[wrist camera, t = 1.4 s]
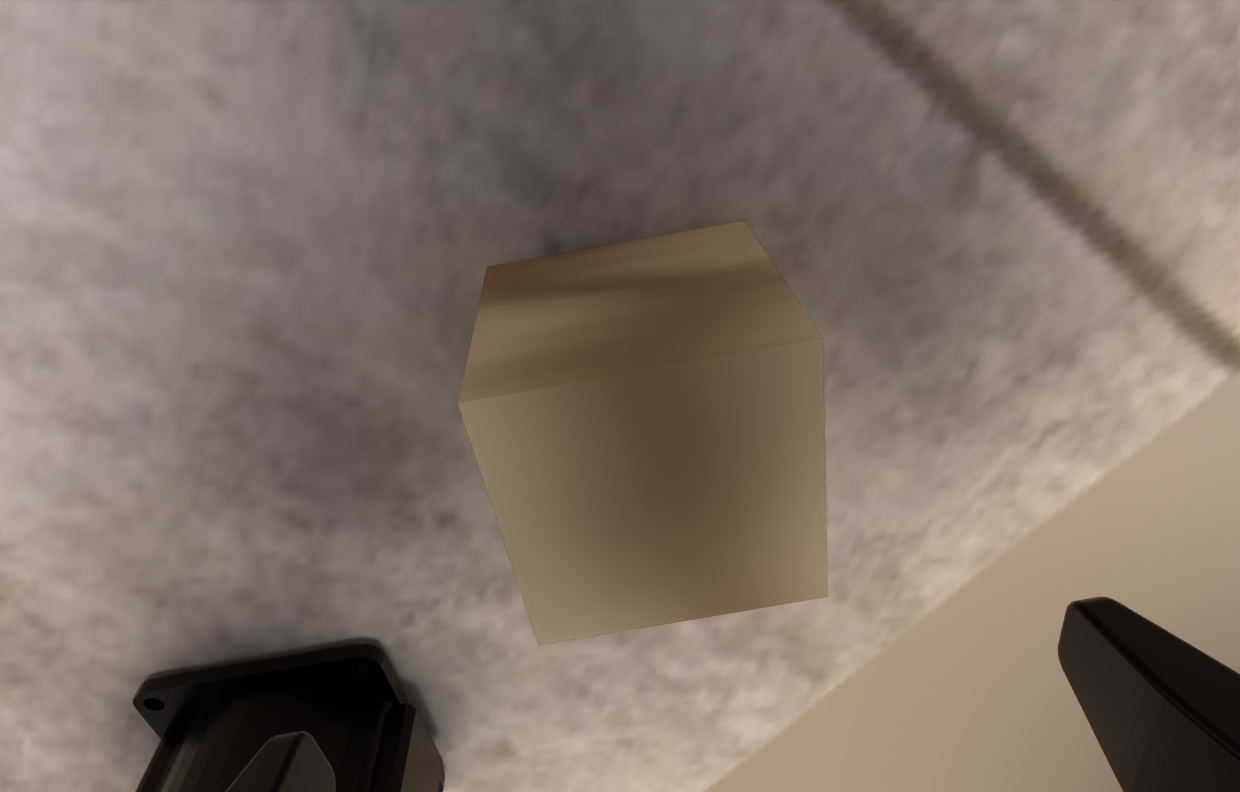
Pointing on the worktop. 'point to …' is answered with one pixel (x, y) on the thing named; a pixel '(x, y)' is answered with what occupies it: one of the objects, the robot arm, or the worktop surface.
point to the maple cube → (650, 432)
